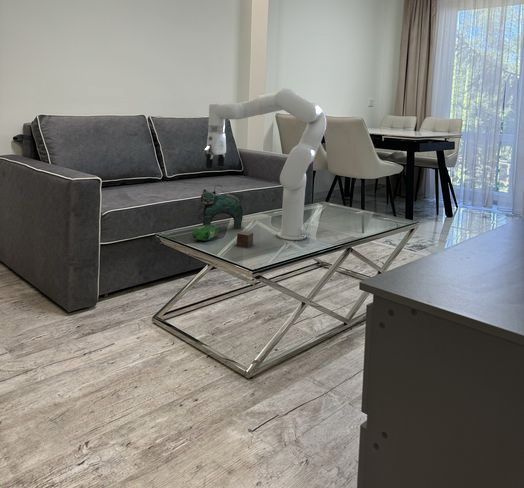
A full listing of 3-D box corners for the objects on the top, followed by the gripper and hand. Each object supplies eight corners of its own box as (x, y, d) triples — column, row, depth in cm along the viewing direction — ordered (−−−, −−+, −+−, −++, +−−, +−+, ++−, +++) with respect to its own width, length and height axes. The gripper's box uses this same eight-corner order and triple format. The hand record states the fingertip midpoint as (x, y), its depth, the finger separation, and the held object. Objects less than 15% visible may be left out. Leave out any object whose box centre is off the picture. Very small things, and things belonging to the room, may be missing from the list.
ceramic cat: (199, 228, 226) (201, 185, 225) (199, 225, 233) (200, 183, 232) (242, 229, 230) (244, 186, 228) (241, 226, 236) (243, 184, 235)
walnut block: (252, 244, 204) (253, 232, 204) (247, 247, 199) (248, 235, 199) (241, 243, 206) (242, 231, 206) (236, 245, 201) (237, 233, 201)
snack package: (189, 242, 203) (189, 229, 203) (206, 233, 218) (206, 222, 218) (204, 244, 201) (205, 232, 201) (220, 236, 216) (221, 224, 215)
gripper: (213, 130, 218) (211, 169, 219) (233, 129, 233) (231, 166, 234) (198, 129, 221) (197, 167, 222) (219, 129, 237) (218, 164, 238)
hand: (215, 166), depth 228 cm, fingers open, 9 cm apart
